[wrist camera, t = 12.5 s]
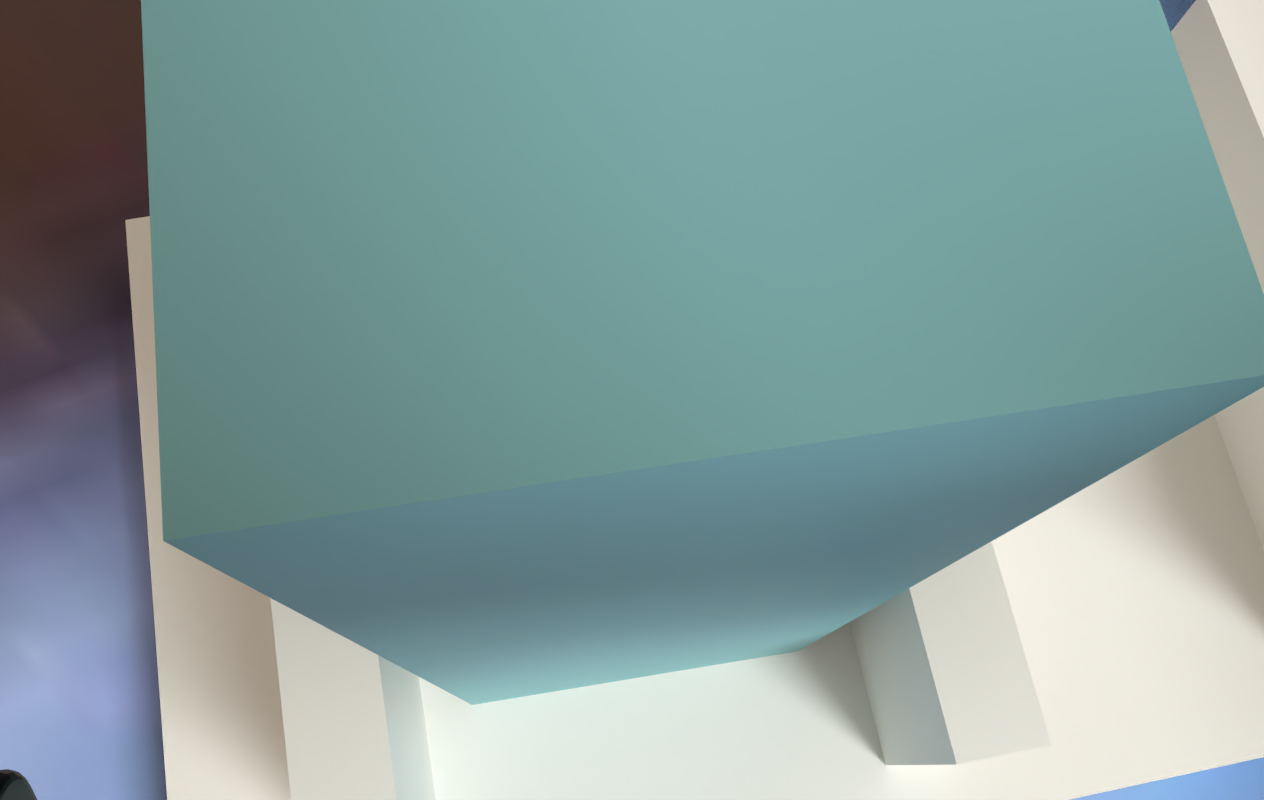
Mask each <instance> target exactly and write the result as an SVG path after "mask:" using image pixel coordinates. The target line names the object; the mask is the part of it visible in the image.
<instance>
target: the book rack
mask: <svg viewBox="0 0 1264 800" xmlns="http://www.w3.org/2000/svg"><path fill="white" fill-rule="evenodd" d="M1171 34H1172V37H1173V40H1174V43H1175V46H1176V49H1177V51H1178V54H1179V57H1180V60H1181V63H1182V65H1183V68H1184V71H1185V74H1186V77H1187V80H1188V82H1189V85H1190V88H1191V91H1192V94H1193V96H1194V99H1195V102H1196V105H1197V108H1198V111H1199V113H1200V116H1201V119H1202V122H1203V125H1204V127H1205V130H1206V133H1207V136H1208V139H1209V142H1210V144H1211V147H1212V150H1213V153H1214V156H1215V158H1216V161H1217V164H1218V167H1219V170H1220V173H1221V175H1222V178H1223V181H1224V184H1225V187H1226V189H1227V192H1228V195H1229V198H1230V201H1231V204H1232V206H1233V209H1234V212H1235V215H1236V218H1237V220H1238V223H1239V226H1240V229H1241V232H1242V234H1243V237H1244V240H1245V243H1246V246H1247V249H1248V251H1249V254H1250V257H1251V260H1252V263H1253V265H1254V268H1255V271H1256V274H1257V277H1258V280H1259V282H1260V285H1261V288H1262V291H1263V294H1264V0H1196V1H1195V2H1194V3H1193V4H1192V6H1191V7H1190V8H1189V9H1188V11H1187V12H1186V13H1185V15H1184V16H1183V17H1182V18H1181V20H1180V21H1179V22H1178V23H1177V25H1176V26H1175V27H1174V29H1173V30H1172V31H1171ZM125 222H126V236H127V250H128V264H129V277H130V291H131V305H132V319H133V333H134V347H135V360H136V374H137V388H138V402H139V416H140V430H141V444H142V457H143V471H144V485H145V499H146V513H147V527H148V540H149V554H150V568H151V582H152V596H153V610H154V624H155V637H156V651H157V665H158V679H159V693H160V707H161V720H162V734H163V748H164V762H165V776H166V790H167V800H1069V799H1074V798H1078V797H1083V796H1088V795H1092V794H1097V793H1101V792H1106V791H1111V790H1115V789H1120V788H1124V787H1129V786H1133V785H1138V784H1143V783H1147V782H1152V781H1156V780H1161V779H1166V778H1170V777H1175V776H1179V775H1184V774H1189V773H1193V772H1198V771H1202V770H1207V769H1211V768H1216V767H1221V766H1225V765H1230V764H1234V763H1239V762H1244V761H1248V760H1253V759H1257V758H1262V757H1264V387H1263V388H1261V389H1259V390H1257V391H1255V392H1254V393H1252V394H1250V395H1248V396H1247V397H1245V398H1243V399H1241V400H1240V401H1238V402H1236V403H1234V404H1233V405H1231V406H1229V407H1227V408H1226V409H1224V410H1222V411H1220V412H1218V413H1217V414H1215V415H1213V416H1211V417H1210V418H1208V419H1206V420H1204V421H1203V422H1201V423H1199V424H1197V425H1196V426H1194V427H1192V428H1190V429H1189V430H1187V431H1185V432H1183V433H1182V434H1180V435H1178V436H1176V437H1174V438H1173V439H1171V440H1169V441H1167V442H1166V443H1164V444H1162V445H1160V446H1159V447H1157V448H1155V449H1153V450H1152V451H1150V452H1148V453H1146V454H1145V455H1143V456H1141V457H1139V458H1137V459H1136V460H1134V461H1132V462H1130V463H1129V464H1127V465H1125V466H1123V467H1122V468H1120V469H1118V470H1116V471H1115V472H1113V473H1111V474H1109V475H1108V476H1106V477H1104V478H1102V479H1101V480H1099V481H1097V482H1095V483H1093V484H1092V485H1090V486H1088V487H1086V488H1085V489H1083V490H1081V491H1079V492H1078V493H1076V494H1074V495H1072V496H1071V497H1069V498H1067V499H1065V500H1064V501H1062V502H1060V503H1058V504H1056V505H1055V506H1053V507H1051V508H1049V509H1048V510H1046V511H1044V512H1042V513H1041V514H1039V515H1037V516H1035V517H1034V518H1032V519H1030V520H1028V521H1027V522H1025V523H1023V524H1021V525H1019V526H1018V527H1016V528H1014V529H1012V530H1011V531H1009V532H1007V533H1005V534H1004V535H1002V536H1000V537H998V538H997V539H995V540H993V541H991V542H990V543H988V544H986V545H984V546H983V547H981V548H979V549H977V550H975V551H974V552H972V553H970V554H968V555H967V556H965V557H963V558H961V559H960V560H958V561H956V562H954V563H953V564H951V565H949V566H947V567H946V568H944V569H942V570H940V571H938V572H937V573H935V574H933V575H931V576H930V577H928V578H926V579H924V580H923V581H921V582H919V583H917V584H916V585H914V586H912V587H910V588H909V589H907V590H905V591H903V592H902V593H900V594H898V595H896V596H894V597H893V598H891V599H889V600H887V601H886V602H884V603H882V604H880V605H879V606H877V607H875V608H873V609H872V610H870V611H868V612H866V613H865V614H863V615H861V616H859V617H857V618H856V619H854V620H852V621H850V622H849V623H847V624H845V625H843V626H842V627H840V628H838V629H836V630H835V631H833V632H831V633H829V634H828V635H826V636H824V637H822V638H821V639H819V640H817V641H815V642H813V643H812V644H810V645H808V646H806V647H805V648H803V649H801V650H799V651H796V652H790V653H784V654H778V655H772V656H766V657H760V658H754V659H748V660H742V661H736V662H730V663H724V664H718V665H711V666H705V667H699V668H693V669H687V670H681V671H675V672H669V673H663V674H657V675H651V676H645V677H639V678H633V679H627V680H621V681H615V682H609V683H603V684H597V685H590V686H584V687H578V688H572V689H566V690H560V691H554V692H548V693H542V694H536V695H530V696H524V697H518V698H512V699H506V700H500V701H494V702H488V703H482V704H475V705H471V704H469V703H467V702H465V701H464V700H462V699H460V698H458V697H456V696H454V695H452V694H450V693H449V692H447V691H445V690H443V689H441V688H439V687H437V686H435V685H433V684H432V683H430V682H428V681H426V680H424V679H422V678H420V677H418V676H416V675H415V674H413V673H411V672H409V671H407V670H405V669H403V668H401V667H400V666H398V665H396V664H394V663H392V662H390V661H388V660H386V659H384V658H383V657H381V656H379V655H377V654H375V653H373V652H371V651H369V650H368V649H366V648H364V647H362V646H360V645H358V644H356V643H354V642H352V641H351V640H349V639H347V638H345V637H343V636H341V635H339V634H337V633H336V632H334V631H332V630H330V629H328V628H326V627H324V626H322V625H320V624H319V623H317V622H315V621H313V620H311V619H309V618H307V617H305V616H303V615H302V614H300V613H298V612H296V611H294V610H292V609H290V608H288V607H287V606H285V605H283V604H281V603H279V602H277V601H275V600H273V599H271V598H270V597H268V596H266V595H264V594H262V593H260V592H258V591H256V590H255V589H253V588H251V587H249V586H247V585H245V584H243V583H241V582H239V581H238V580H236V579H234V578H232V577H230V576H228V575H226V574H224V573H222V572H221V571H219V570H217V569H215V568H213V567H211V566H209V565H207V564H206V563H204V562H202V561H200V560H198V559H196V558H194V557H192V556H190V555H189V554H187V553H185V552H183V551H181V550H179V549H177V548H175V547H174V546H172V545H170V544H168V543H166V542H164V541H163V528H162V503H161V479H160V454H159V430H158V405H157V381H156V356H155V331H154V307H153V283H152V258H151V233H150V216H148V217H141V218H135V219H129V220H125Z"/></svg>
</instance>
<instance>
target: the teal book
mask: <svg viewBox="0 0 1264 800" xmlns="http://www.w3.org/2000/svg"><path fill="white" fill-rule="evenodd" d="M141 13H142V37H143V62H144V86H145V111H146V135H147V160H148V184H149V209H150V233H151V258H152V283H153V307H154V331H155V356H156V381H157V405H158V430H159V454H160V479H161V503H162V528H163V541H164V542H166V543H168V544H170V545H172V546H174V547H175V548H177V549H179V550H181V551H183V552H185V553H187V554H189V555H190V556H192V557H194V558H196V559H198V560H200V561H202V562H204V563H206V564H207V565H209V566H211V567H213V568H215V569H217V570H219V571H221V572H222V573H224V574H226V575H228V576H230V577H232V578H234V579H236V580H238V581H239V582H241V583H243V584H245V585H247V586H249V587H251V588H253V589H255V590H256V591H258V592H260V593H262V594H264V595H266V596H268V597H270V598H271V599H273V600H275V601H277V602H279V603H281V604H283V605H285V606H287V607H288V608H290V609H292V610H294V611H296V612H298V613H300V614H302V615H303V616H305V617H307V618H309V619H311V620H313V621H315V622H317V623H319V624H320V625H322V626H324V627H326V628H328V629H330V630H332V631H334V632H336V633H337V634H339V635H341V636H343V637H345V638H347V639H349V640H351V641H352V642H354V643H356V644H358V645H360V646H362V647H364V648H366V649H368V650H369V651H371V652H373V653H375V654H377V655H379V656H381V657H383V658H384V659H386V660H388V661H390V662H392V663H394V664H396V665H398V666H400V667H401V668H403V669H405V670H407V671H409V672H411V673H413V674H415V675H416V676H418V677H420V678H422V679H424V680H426V681H428V682H430V683H432V684H433V685H435V686H437V687H439V688H441V689H443V690H445V691H447V692H449V693H450V694H452V695H454V696H456V697H458V698H460V699H462V700H464V701H465V702H467V703H469V704H471V705H475V704H482V703H488V702H494V701H500V700H506V699H512V698H518V697H524V696H530V695H536V694H542V693H548V692H554V691H560V690H566V689H572V688H578V687H584V686H590V685H597V684H603V683H609V682H615V681H621V680H627V679H633V678H639V677H645V676H651V675H657V674H663V673H669V672H675V671H681V670H687V669H693V668H699V667H705V666H711V665H718V664H724V663H730V662H736V661H742V660H748V659H754V658H760V657H766V656H772V655H778V654H784V653H790V652H796V651H799V650H801V649H803V648H805V647H806V646H808V645H810V644H812V643H813V642H815V641H817V640H819V639H821V638H822V637H824V636H826V635H828V634H829V633H831V632H833V631H835V630H836V629H838V628H840V627H842V626H843V625H845V624H847V623H849V622H850V621H852V620H854V619H856V618H857V617H859V616H861V615H863V614H865V613H866V612H868V611H870V610H872V609H873V608H875V607H877V606H879V605H880V604H882V603H884V602H886V601H887V600H889V599H891V598H893V597H894V596H896V595H898V594H900V593H902V592H903V591H905V590H907V589H909V588H910V587H912V586H914V585H916V584H917V583H919V582H921V581H923V580H924V579H926V578H928V577H930V576H931V575H933V574H935V573H937V572H938V571H940V570H942V569H944V568H946V567H947V566H949V565H951V564H953V563H954V562H956V561H958V560H960V559H961V558H963V557H965V556H967V555H968V554H970V553H972V552H974V551H975V550H977V549H979V548H981V547H983V546H984V545H986V544H988V543H990V542H991V541H993V540H995V539H997V538H998V537H1000V536H1002V535H1004V534H1005V533H1007V532H1009V531H1011V530H1012V529H1014V528H1016V527H1018V526H1019V525H1021V524H1023V523H1025V522H1027V521H1028V520H1030V519H1032V518H1034V517H1035V516H1037V515H1039V514H1041V513H1042V512H1044V511H1046V510H1048V509H1049V508H1051V507H1053V506H1055V505H1056V504H1058V503H1060V502H1062V501H1064V500H1065V499H1067V498H1069V497H1071V496H1072V495H1074V494H1076V493H1078V492H1079V491H1081V490H1083V489H1085V488H1086V487H1088V486H1090V485H1092V484H1093V483H1095V482H1097V481H1099V480H1101V479H1102V478H1104V477H1106V476H1108V475H1109V474H1111V473H1113V472H1115V471H1116V470H1118V469H1120V468H1122V467H1123V466H1125V465H1127V464H1129V463H1130V462H1132V461H1134V460H1136V459H1137V458H1139V457H1141V456H1143V455H1145V454H1146V453H1148V452H1150V451H1152V450H1153V449H1155V448H1157V447H1159V446H1160V445H1162V444H1164V443H1166V442H1167V441H1169V440H1171V439H1173V438H1174V437H1176V436H1178V435H1180V434H1182V433H1183V432H1185V431H1187V430H1189V429H1190V428H1192V427H1194V426H1196V425H1197V424H1199V423H1201V422H1203V421H1204V420H1206V419H1208V418H1210V417H1211V416H1213V415H1215V414H1217V413H1218V412H1220V411H1222V410H1224V409H1226V408H1227V407H1229V406H1231V405H1233V404H1234V403H1236V402H1238V401H1240V400H1241V399H1243V398H1245V397H1247V396H1248V395H1250V394H1252V393H1254V392H1255V391H1257V390H1259V389H1261V388H1263V387H1264V294H1263V291H1262V288H1261V285H1260V282H1259V280H1258V277H1257V274H1256V271H1255V268H1254V265H1253V263H1252V260H1251V257H1250V254H1249V251H1248V249H1247V246H1246V243H1245V240H1244V237H1243V234H1242V232H1241V229H1240V226H1239V223H1238V220H1237V218H1236V215H1235V212H1234V209H1233V206H1232V204H1231V201H1230V198H1229V195H1228V192H1227V189H1226V187H1225V184H1224V181H1223V178H1222V175H1221V173H1220V170H1219V167H1218V164H1217V161H1216V158H1215V156H1214V153H1213V150H1212V147H1211V144H1210V142H1209V139H1208V136H1207V133H1206V130H1205V127H1204V125H1203V122H1202V119H1201V116H1200V113H1199V111H1198V108H1197V105H1196V102H1195V99H1194V96H1193V94H1192V91H1191V88H1190V85H1189V82H1188V80H1187V77H1186V74H1185V71H1184V68H1183V65H1182V63H1181V60H1180V57H1179V54H1178V51H1177V49H1176V46H1175V43H1174V40H1173V37H1172V34H1171V32H1170V29H1169V26H1168V23H1167V20H1166V18H1165V15H1164V12H1163V9H1162V6H1161V3H1160V1H1159V0H141Z"/></svg>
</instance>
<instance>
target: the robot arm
mask: <svg viewBox="0 0 1264 800" xmlns="http://www.w3.org/2000/svg"><path fill="white" fill-rule="evenodd" d="M0 800H37V798H36V796H35V794H34V792H33V790H32V788H31V786H30V784H29V783H28V781H27V780H26V778H25V777H24V776H22V775H21V774H20V773H19V772H16V771H13V770H0Z"/></svg>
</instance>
